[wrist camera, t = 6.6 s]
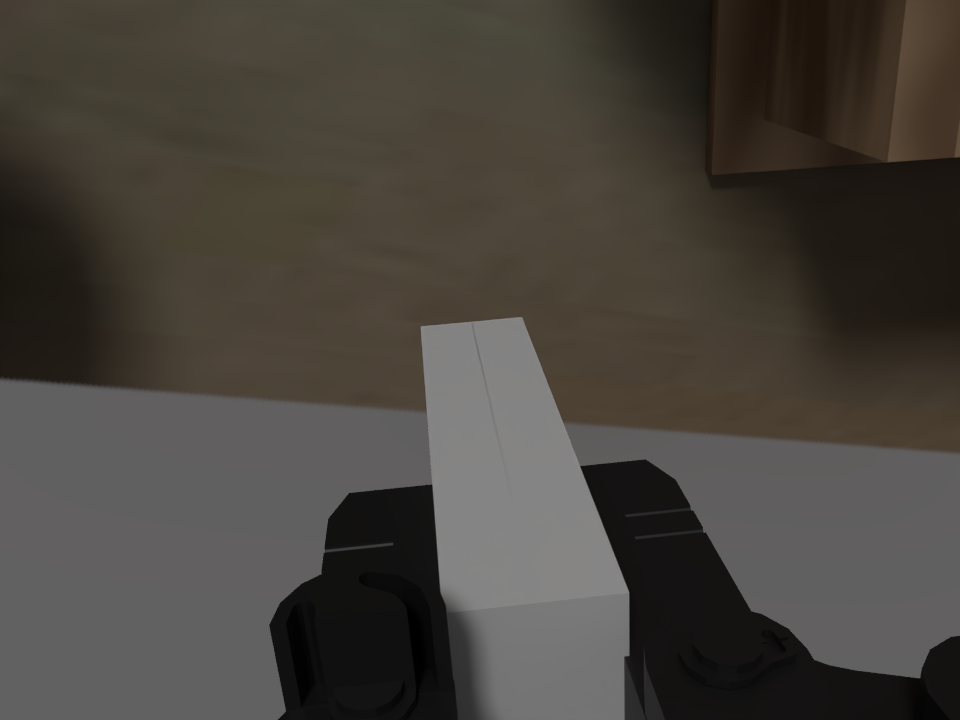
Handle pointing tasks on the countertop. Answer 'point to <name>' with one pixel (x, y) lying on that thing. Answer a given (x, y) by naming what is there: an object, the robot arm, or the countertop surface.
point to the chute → (832, 83)
